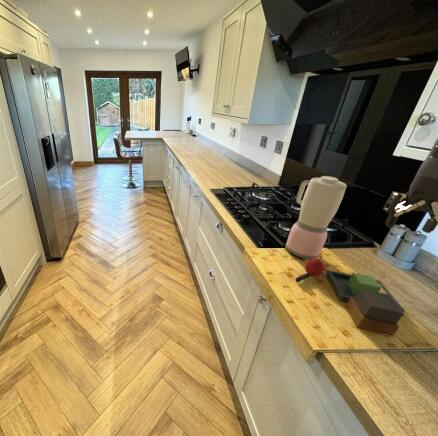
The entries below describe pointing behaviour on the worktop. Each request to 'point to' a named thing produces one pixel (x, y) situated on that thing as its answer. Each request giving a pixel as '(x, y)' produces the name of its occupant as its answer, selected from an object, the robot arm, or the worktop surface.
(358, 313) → the walnut block
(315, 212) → the blender
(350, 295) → the tray
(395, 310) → the charcoal block
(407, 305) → the worktop surface
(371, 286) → the green block
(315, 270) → the onion
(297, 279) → the kitchen knife
